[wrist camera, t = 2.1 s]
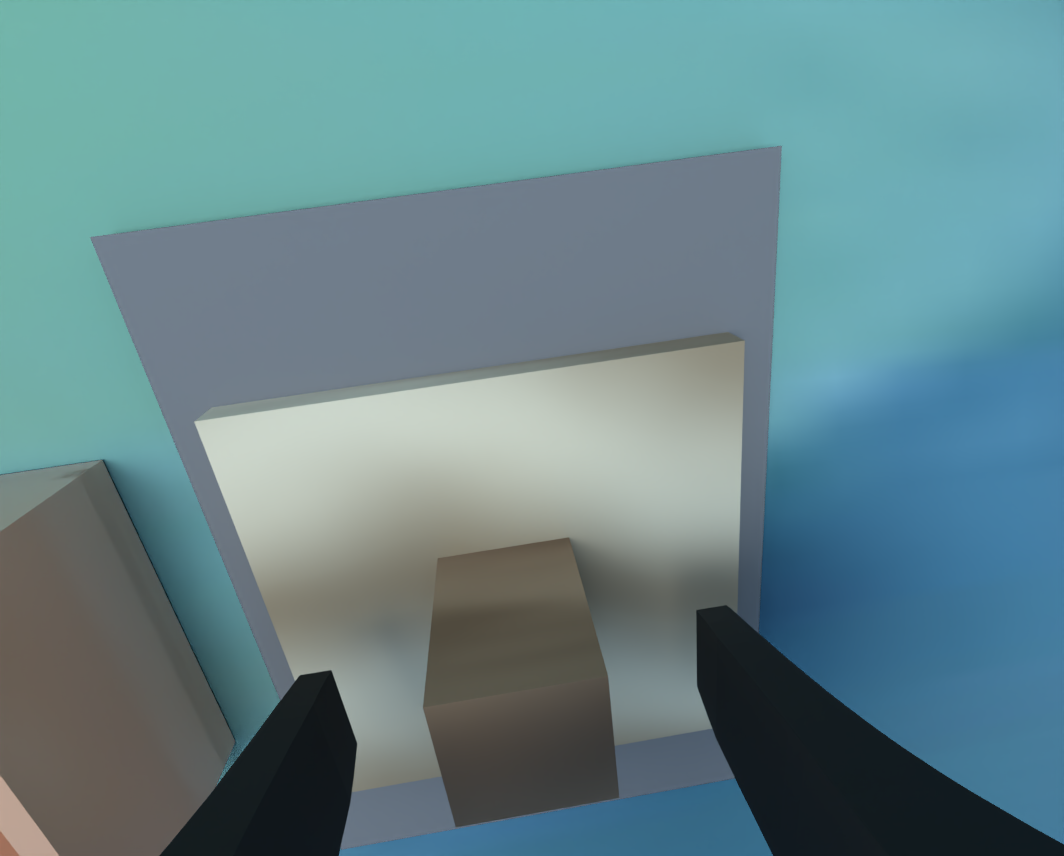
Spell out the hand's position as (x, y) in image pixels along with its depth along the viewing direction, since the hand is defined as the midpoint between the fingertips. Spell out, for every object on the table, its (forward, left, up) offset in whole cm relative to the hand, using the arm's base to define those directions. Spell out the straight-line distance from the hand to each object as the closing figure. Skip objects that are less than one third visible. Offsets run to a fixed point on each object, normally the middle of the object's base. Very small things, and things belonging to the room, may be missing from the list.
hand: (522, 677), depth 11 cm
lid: (0, 0, -3) cm, 3 cm away
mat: (0, 0, -4) cm, 4 cm away
